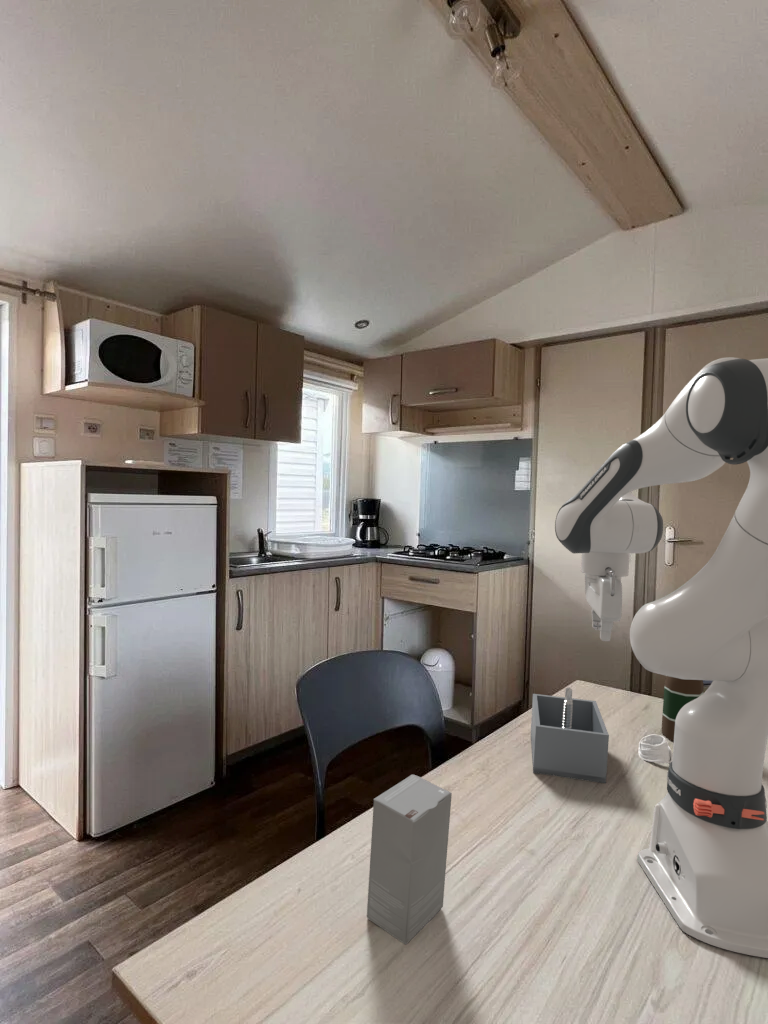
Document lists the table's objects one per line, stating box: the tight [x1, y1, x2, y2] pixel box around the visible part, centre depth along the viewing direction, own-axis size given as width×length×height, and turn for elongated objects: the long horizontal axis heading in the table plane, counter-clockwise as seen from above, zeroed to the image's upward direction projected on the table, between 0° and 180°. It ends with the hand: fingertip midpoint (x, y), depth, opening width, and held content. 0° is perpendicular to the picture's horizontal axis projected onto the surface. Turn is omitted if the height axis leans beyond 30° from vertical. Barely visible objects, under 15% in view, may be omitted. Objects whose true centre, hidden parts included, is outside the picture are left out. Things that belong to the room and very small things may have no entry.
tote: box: [530, 693, 610, 784], centre depth 119 cm, size 18×13×9 cm
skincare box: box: [366, 773, 453, 945], centre depth 73 cm, size 8×7×16 cm
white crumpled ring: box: [637, 733, 673, 764], centre depth 120 cm, size 8×7×5 cm
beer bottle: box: [661, 676, 705, 742], centre depth 130 cm, size 8×8×24 cm
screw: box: [562, 687, 573, 729], centre depth 119 cm, size 13×5×5 cm
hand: (600, 634), depth 117 cm, fingers open, 8 cm apart
